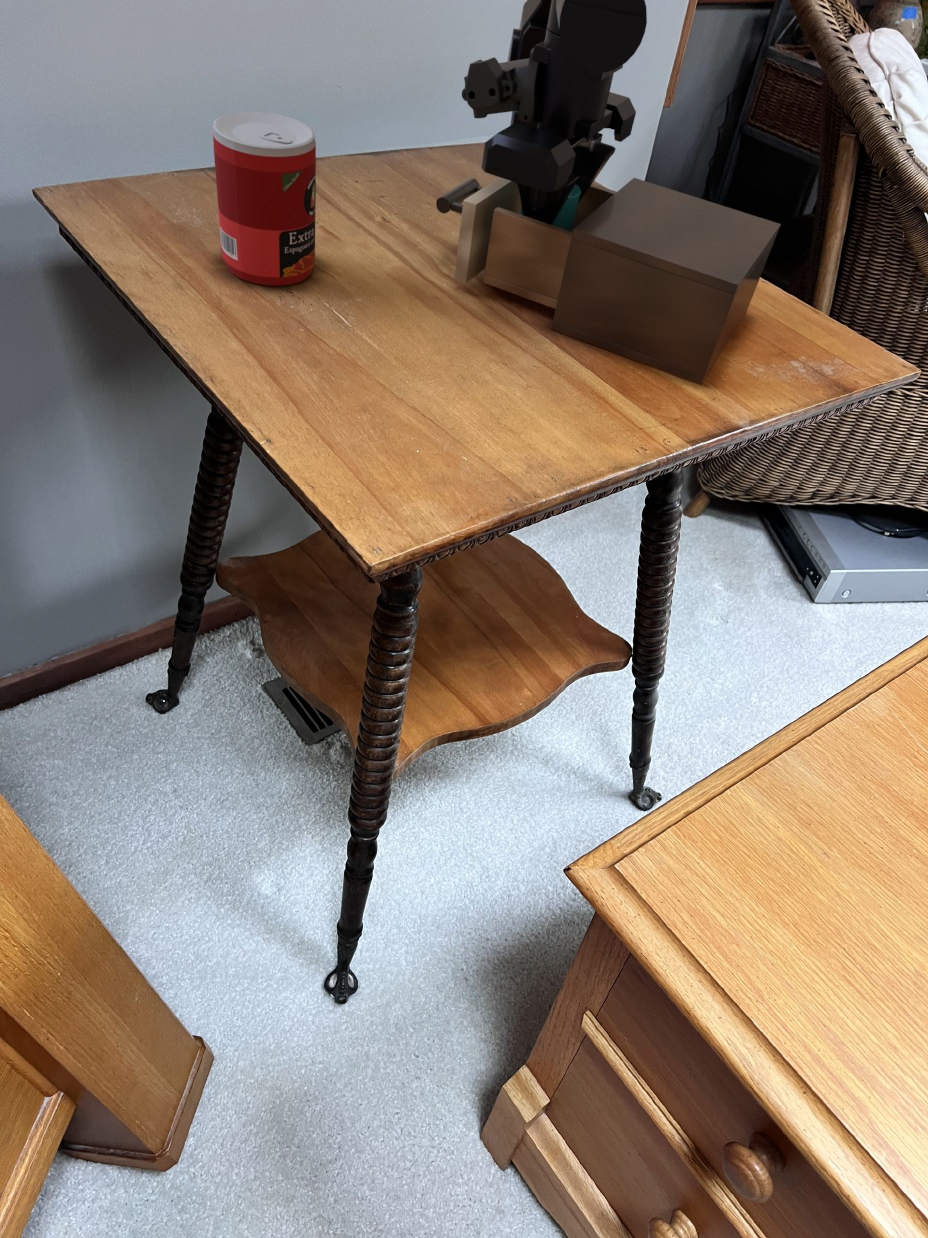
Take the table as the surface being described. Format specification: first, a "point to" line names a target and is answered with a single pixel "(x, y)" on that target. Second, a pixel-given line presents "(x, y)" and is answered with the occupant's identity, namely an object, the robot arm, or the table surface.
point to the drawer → (512, 239)
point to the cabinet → (662, 277)
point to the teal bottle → (567, 210)
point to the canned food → (266, 196)
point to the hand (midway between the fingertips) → (543, 238)
